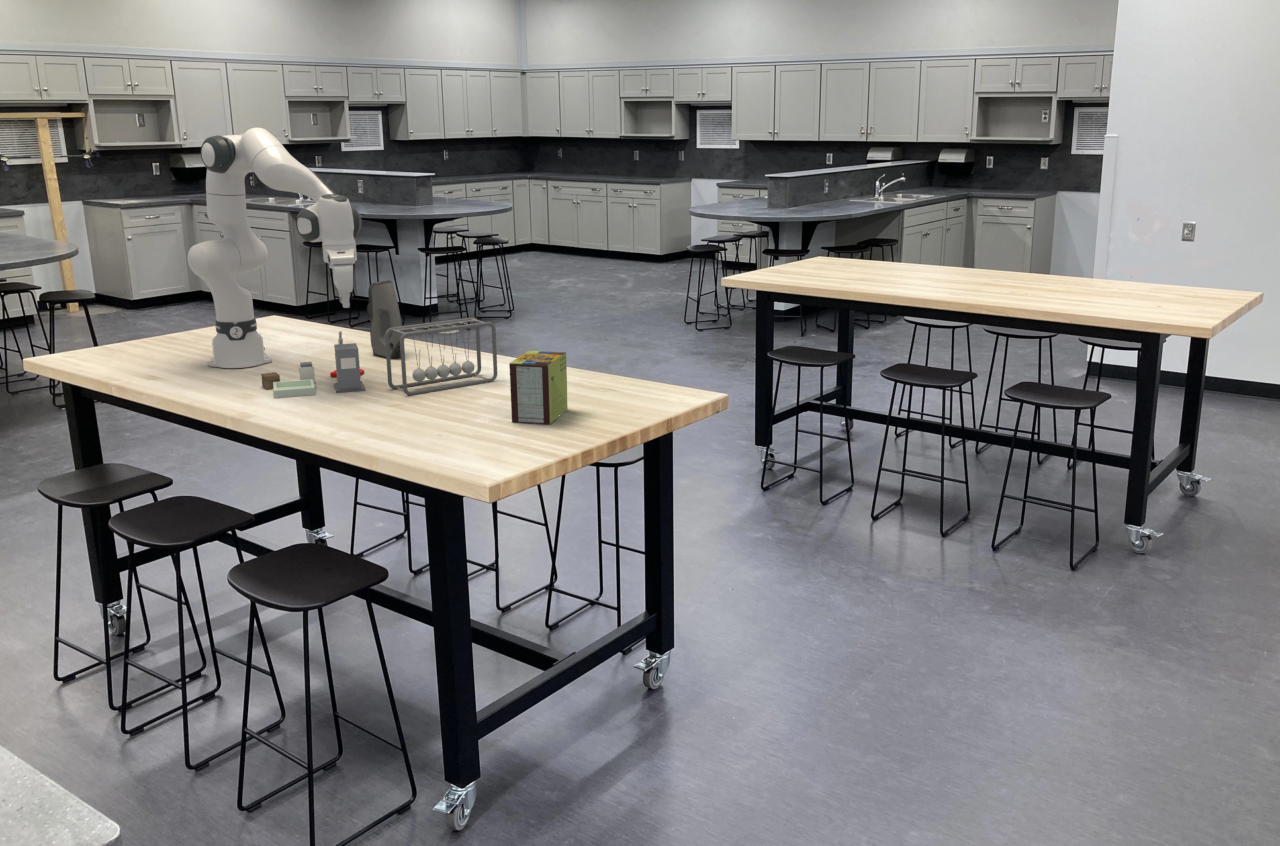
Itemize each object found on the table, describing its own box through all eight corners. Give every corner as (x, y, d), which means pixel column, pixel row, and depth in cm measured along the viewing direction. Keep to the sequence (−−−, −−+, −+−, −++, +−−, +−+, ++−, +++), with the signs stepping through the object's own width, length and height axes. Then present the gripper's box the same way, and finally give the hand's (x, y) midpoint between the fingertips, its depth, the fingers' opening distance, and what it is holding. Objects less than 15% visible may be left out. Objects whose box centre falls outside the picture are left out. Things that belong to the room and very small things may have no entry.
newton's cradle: (480, 374, 316) (477, 316, 311) (498, 381, 308) (496, 321, 303) (387, 390, 298) (383, 328, 293) (404, 397, 290) (400, 333, 286)
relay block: (300, 382, 307) (298, 362, 306) (314, 381, 309) (312, 361, 307) (300, 385, 304) (299, 365, 302) (315, 384, 305) (313, 364, 303)
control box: (333, 385, 304) (330, 344, 301) (362, 382, 306) (359, 342, 303) (336, 392, 295) (332, 350, 291) (365, 390, 297) (362, 348, 294)
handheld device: (385, 352, 348) (380, 276, 341) (412, 358, 338) (407, 281, 331) (369, 354, 344) (363, 278, 337) (395, 361, 334) (390, 283, 327)
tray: (273, 389, 299) (273, 382, 298) (313, 386, 302) (312, 379, 302) (274, 398, 289) (273, 390, 289) (315, 394, 293) (314, 387, 292)
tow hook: (341, 371, 323) (326, 377, 313) (338, 326, 320) (324, 331, 310) (369, 372, 321) (355, 378, 312) (367, 327, 318) (353, 332, 309)
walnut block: (262, 387, 302) (261, 373, 301) (276, 385, 304) (275, 372, 303) (266, 390, 299) (265, 376, 297) (280, 388, 301) (279, 374, 300)
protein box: (568, 409, 277) (566, 351, 273) (550, 425, 262) (548, 364, 258) (530, 407, 279) (528, 350, 275) (510, 422, 265) (508, 362, 260)
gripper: (325, 252, 297) (330, 301, 301) (330, 259, 278) (335, 311, 282) (348, 251, 299) (353, 299, 303) (355, 257, 280) (359, 309, 284)
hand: (344, 305), depth 292 cm, fingers open, 8 cm apart
